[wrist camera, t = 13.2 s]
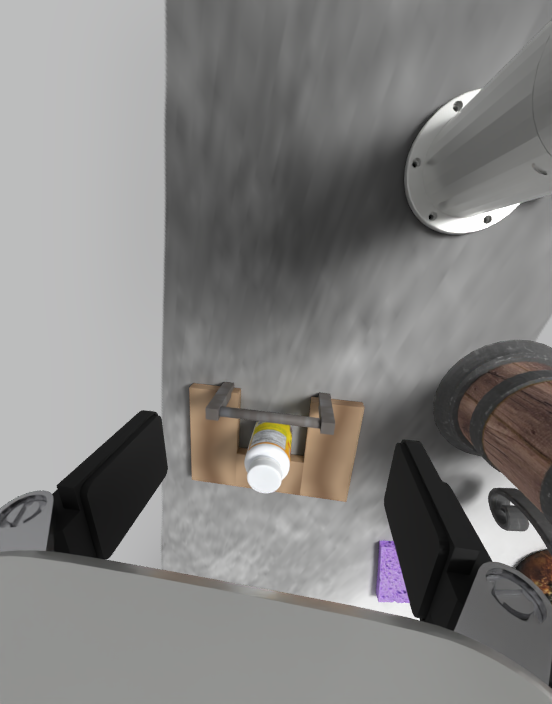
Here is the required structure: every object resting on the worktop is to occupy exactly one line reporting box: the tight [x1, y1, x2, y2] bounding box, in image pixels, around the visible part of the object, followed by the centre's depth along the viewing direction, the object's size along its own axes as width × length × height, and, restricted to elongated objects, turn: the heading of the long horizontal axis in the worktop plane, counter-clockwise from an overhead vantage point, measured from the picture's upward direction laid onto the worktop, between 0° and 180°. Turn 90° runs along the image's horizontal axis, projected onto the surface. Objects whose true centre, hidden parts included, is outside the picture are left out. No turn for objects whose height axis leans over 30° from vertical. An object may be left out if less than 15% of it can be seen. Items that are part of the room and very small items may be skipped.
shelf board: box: [189, 382, 364, 502], centre depth 38 cm, size 24×17×8 cm
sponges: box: [376, 541, 410, 603], centre depth 46 cm, size 7×13×2 cm, turn 4°
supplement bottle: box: [244, 421, 292, 493], centre depth 36 cm, size 6×6×10 cm
